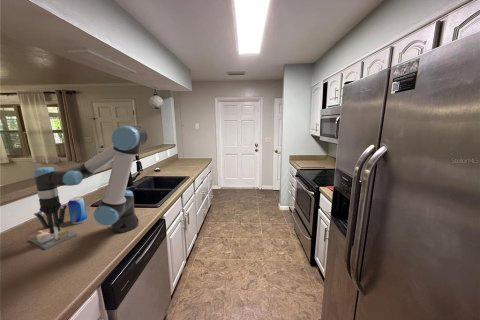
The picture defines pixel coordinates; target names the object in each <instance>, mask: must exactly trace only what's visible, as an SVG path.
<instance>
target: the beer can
mask: <svg viewBox="0 0 480 320" xmlns="http://www.w3.org/2000/svg"><path fill="white" fill-rule="evenodd" d="M67 205H68V206H67V207H68V213H69V214H68V215H69V220H70V223H71V224H73V225H78V224H79V225H80V224H82V223H85V222H86V221H87V219H88V215H87V208H86V201H85V199H84V198H83V197H82V196H75V197H71V198H69V200H68V202H67Z"/></svg>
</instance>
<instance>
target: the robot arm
mask: <svg viewBox="0 0 480 320" xmlns="http://www.w3.org/2000/svg"><path fill="white" fill-rule="evenodd" d="M148 137H149V136H148V133H147V131H146V130H145V129H144V127H142V126H140V125H123V126H120V127H117V128H116V129H114V130H113V133H112V134H111V142H112V145H109V147H107V148H106V149H105V148H104V150H102V151H101V152H99V153H98V154H96V155H95V156H93V157H91V158H89V160H87V161H85V162H84V163H82V164H80V165H78V166H77V167H73V168H71V169H67V170H63V171H62V170H61V171H59V170H57V171H55V168H54V167H53V166H43V167H42V166H41V167H38V168H35V169H34V170H33V176H34V177H33V178H34V180H35V185H36V192H37V196H38V202H39V211H37V212H35V213H34V214H33V215H34V216H35V217H37V218H38V220H39V222H40V224H41V225H42V227H43V228H44V229H49V230H50V233H51V234H53V238H55V239H57V238H59V233H58V231H60V227H61V225H62V224H63V223H64V222H65V214H66V209H67V207H68V206H67V205H66V204H62V203H61V202H60V195H59V189H58V186H59V187H60V186H61V187H62V186H67V187H68V186H69V187H70V186H71V187H73V186H77V185H80V184H81V183H82V181H83V180H85V179H89V178H90V177H93V175H94V174H95V173H97V172H99V171H100V170H102V169H103V168H104V167H106V166H107V165H109V164H111V163H112V162H113V163H112V166H111V171H110V173H109V174H110V175H109V179H108V183H107V187H106V192H105V194H104V195H102V196H101V197H100V202H99V206H97V207H96V209H94V211H93V218H94V220H95V221H96V222H97V223H98V224H100V225H101V226H110V230H111V232H113V233H117V234H118V233H119V234H120V233H125V232H130V231H132V230H134V229H136V228H137V227H138V226H139V225H140V222H139V221H140V220H139V219H138V216H137V214H136V211H135V199H134V193H133V191H132V190H129V189H127V186H128V182H129V177H130V176H131V175H130V174H131V170H132V165H133V163H134V158H135V157H136V156H137V155H139V152H140V148H141V146H143V145H145V144H146V143H147V141H148ZM43 214H45V215H46V219H45V218H44V216H43ZM58 214H59V215H58ZM46 220H47V221H46Z"/></svg>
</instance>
